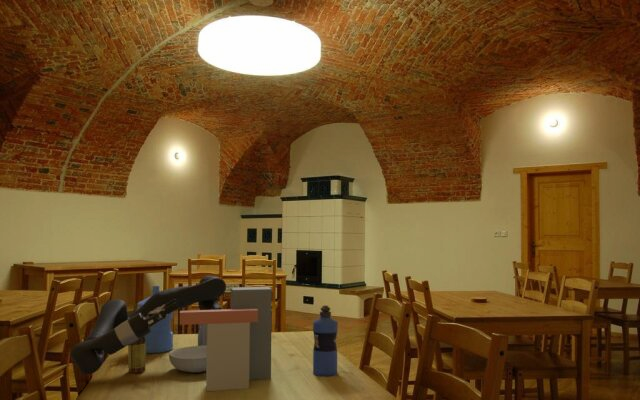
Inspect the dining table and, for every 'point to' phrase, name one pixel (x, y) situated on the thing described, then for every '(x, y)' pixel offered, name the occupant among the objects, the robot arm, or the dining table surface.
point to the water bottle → (325, 344)
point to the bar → (218, 316)
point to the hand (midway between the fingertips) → (176, 303)
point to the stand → (241, 343)
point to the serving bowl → (189, 358)
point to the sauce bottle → (137, 356)
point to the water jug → (159, 332)
